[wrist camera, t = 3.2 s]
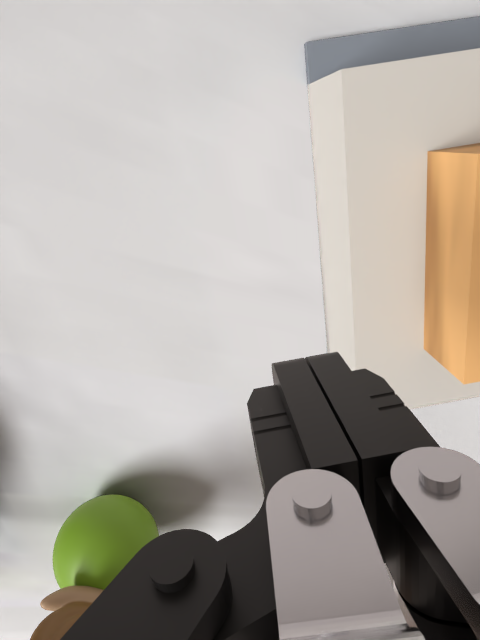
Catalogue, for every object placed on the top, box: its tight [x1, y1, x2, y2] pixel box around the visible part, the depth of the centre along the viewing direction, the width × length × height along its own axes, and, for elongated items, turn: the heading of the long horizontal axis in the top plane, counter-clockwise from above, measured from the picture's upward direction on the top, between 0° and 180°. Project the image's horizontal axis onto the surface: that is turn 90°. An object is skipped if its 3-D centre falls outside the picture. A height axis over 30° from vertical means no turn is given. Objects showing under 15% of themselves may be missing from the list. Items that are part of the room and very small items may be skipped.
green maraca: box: [30, 494, 159, 640], centre depth 21 cm, size 5×6×12 cm
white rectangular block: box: [307, 48, 480, 410], centre depth 20 cm, size 10×14×4 cm
